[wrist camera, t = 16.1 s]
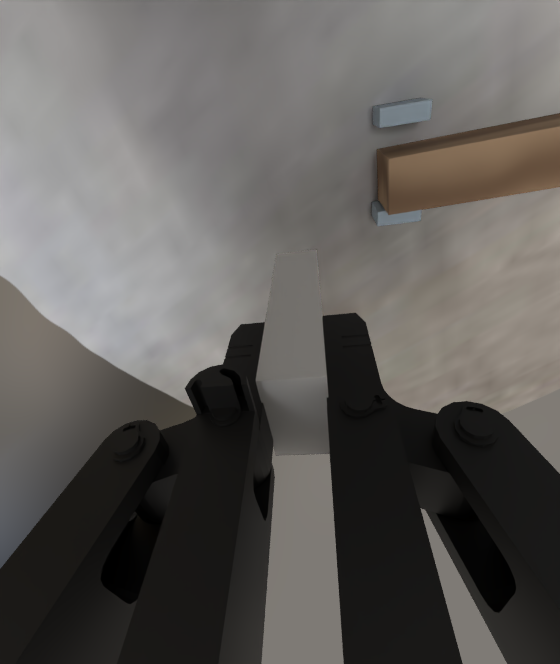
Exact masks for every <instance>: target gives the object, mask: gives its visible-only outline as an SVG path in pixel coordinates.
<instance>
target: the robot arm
mask: <svg viewBox="0 0 560 664" xmlns="http://www.w3.org/2000/svg"><path fill="white" fill-rule="evenodd" d="M225 357H226V359H224V363H223V365H217V366H212V367H209V368H207V369H205V370H203V371H201V372H199V373H198V374H197V375H195V376H194V377H193V378H192V379H191V380H190V381H189V383H188V384H187V386H186V388H185V390H186V392H187V394H188V396H189V399H190V401H191V403H192V405H193V407H194V410H195V412H196V414H197V415H196V417H195V418H193V419H191V420H189V421H186V422H184V423H182V424H178V425H175V426H172V427H169V428H166V429H163V430H159V429H158V427H157V426H156V424H155V423H152V422H150V421H147V420H143V421H142V420H137V421H134V422H130V423H127V424H125V425H123V426H121V427H120V428H118V429H116V430H115V431H113V432H112V433H111V434H110V435H109V436H108V437H107V438H106V439H105V440H104V441H103V442H102V444H101V445H100V446H99V447H98V449H97V450H96V451H95V452H94V454H93V455H92V456H91V457H90V459H89V460H88V461H87V462H86V464H85V465H84V466H83V467H82V468H81V470H80V471H79V472H78V474H77V475H76V476H75V477H74V479H73V480H72V481H71V482H70V483H69V485H68V486H67V487H66V488H65V490H64V491H63V492H62V493H61V494H60V496H59V497H58V498H57V499H56V501H55V502H54V503H53V504H52V506H51V507H50V508H49V509H48V511H47V512H46V513H45V514H44V516H43V517H42V518H41V519H40V521H39V522H38V523H37V524H36V526H35V527H34V528H33V529H32V530H31V532H30V533H29V534H28V535H27V537H26V538H25V539H24V540H23V542H22V543H21V544H20V545H19V546H18V548H17V549H16V550H15V551H14V553H13V554H12V555H11V556H10V558H9V559H8V560H7V561H6V563H5V564H4V565H3V566H2V568H1V569H0V664H261V660H262V646H263V633H264V618H265V604H266V591H267V577H268V563H269V549H270V535H271V521H272V520H271V519H272V507H273V492H274V478H275V477H274V469H273V465H272V452H273V447H274V451H275V454H276V456H279V455H306V454H330V463H331V478H332V493H333V506H334V507H333V508H334V521H335V538H336V553H337V568H338V583H339V598H340V612H341V628H342V642H343V657H344V664H462V660H461V657H460V653H459V649H458V645H457V642H456V638H455V634H454V631H453V627H452V623H451V620H450V616H449V612H448V609H447V605H446V601H445V598H444V594H443V590H442V587H441V583H440V579H439V576H438V572H437V568H436V564H435V560H434V557H433V553H432V550H431V546H430V542H429V538H428V535H427V531H426V527H425V524H424V520H423V516H422V513H421V509H420V508H422V509H425V510H426V512H427V514H428V516H429V517H430V519H431V521H432V523H433V525H434V527H435V529H436V531H437V532H438V534H439V536H440V538H441V540H442V542H443V544H444V546H445V548H446V549H447V551H448V553H449V555H450V557H451V559H452V560H453V563H454V564H455V566H456V568H457V570H458V572H459V574H460V575H461V577H462V579H463V581H464V583H465V585H466V587H467V589H468V591H469V592H470V594H471V596H472V598H473V600H474V602H475V604H476V606H477V607H478V609H479V611H480V613H481V615H482V617H483V619H484V621H485V623H486V624H487V626H488V628H489V630H490V632H491V634H492V636H493V638H494V639H495V641H496V643H497V645H498V647H499V649H500V651H501V653H502V654H503V656H504V658H505V660H506V662H507V664H560V474H559V473H558V472H557V471H556V470H555V468H554V467H553V466H552V465H551V464H550V463H549V462H548V461H547V460H546V459H545V458H544V457H543V456H542V455H541V454H540V453H539V451H538V450H536V448H535V447H534V446H533V445H532V444H531V443H530V442H529V441H528V440H527V439H526V438H525V437H524V436H523V435H522V434H521V432H520V431H519V430H518V429H517V428H516V427H515V426H514V425H513V424H512V423H511V422H510V421H509V420H508V419H507V418H505V417H504V416H503V415H502V414H500V413H499V412H498V411H496V410H494V409H492V408H490V407H488V406H485V405H483V404H479V403H474V402H468V401H464V402H453V403H451V404H449V405H447V406H444V407H443V408H442V409H441V410H440V411H439V413H438V414H436V413H431V412H426V411H421V410H416V409H413V408H409V407H406V406H404V405H402V404H400V403H398V402H396V401H395V400H393V399H392V398H391V397H389V395H388V394H387V393H386V392H385V391H384V389H383V386H382V384H381V380H380V377H379V373H378V369H377V365H376V361H375V357H374V353H373V349H372V346H371V342H370V338H369V334H368V330H367V326H366V322H365V321H364V320H363V319H362V318H361V317H360V316H358V315H357V314H356V313H349V314H338V315H327V316H323V313H322V302H321V291H320V279H319V268H318V257H317V249H313V250H305V251H297V252H288V253H280V254H276V258H275V264H274V270H273V277H272V283H271V289H270V295H269V301H268V307H267V313H266V320H265V322H263V323H252V324H242V325H240V326H239V327H238V328H237V329H236V331H235V332H234V333H233V334H232V335H231V339H230V342H229V346H228V349H227V353H226V356H225Z"/></svg>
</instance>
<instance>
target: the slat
mask: <svg viewBox="0 0 560 664" xmlns="http://www.w3.org/2000/svg"><path fill="white" fill-rule="evenodd" d="M377 178H378V200H379V201H380V203H381V204H382V206H383V207H384V209H385V210H386V212H387V213H388V215H393V214H399V213H405V212H411V211H417V210H423V209H429V208H435V207H441V206H447V205H453V204H459V203H465V202H472V201H478V200H484V199H490V198H496V197H502V196H508V195H514V194H520V193H526V192H532V191H538V190H544V189H550V188H556V187H560V113H559V114H554V115H548V116H543V117H538V118H533V119H528V120H523V121H518V122H513V123H508V124H503V125H498V126H492V127H487V128H482V129H477V130H472V131H467V132H462V133H457V134H452V135H447V136H442V137H436V138H431V139H426V140H421V141H416V142H411V143H406V144H401V145H396V146H391V147H386V148H380V149H377Z"/></svg>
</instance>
